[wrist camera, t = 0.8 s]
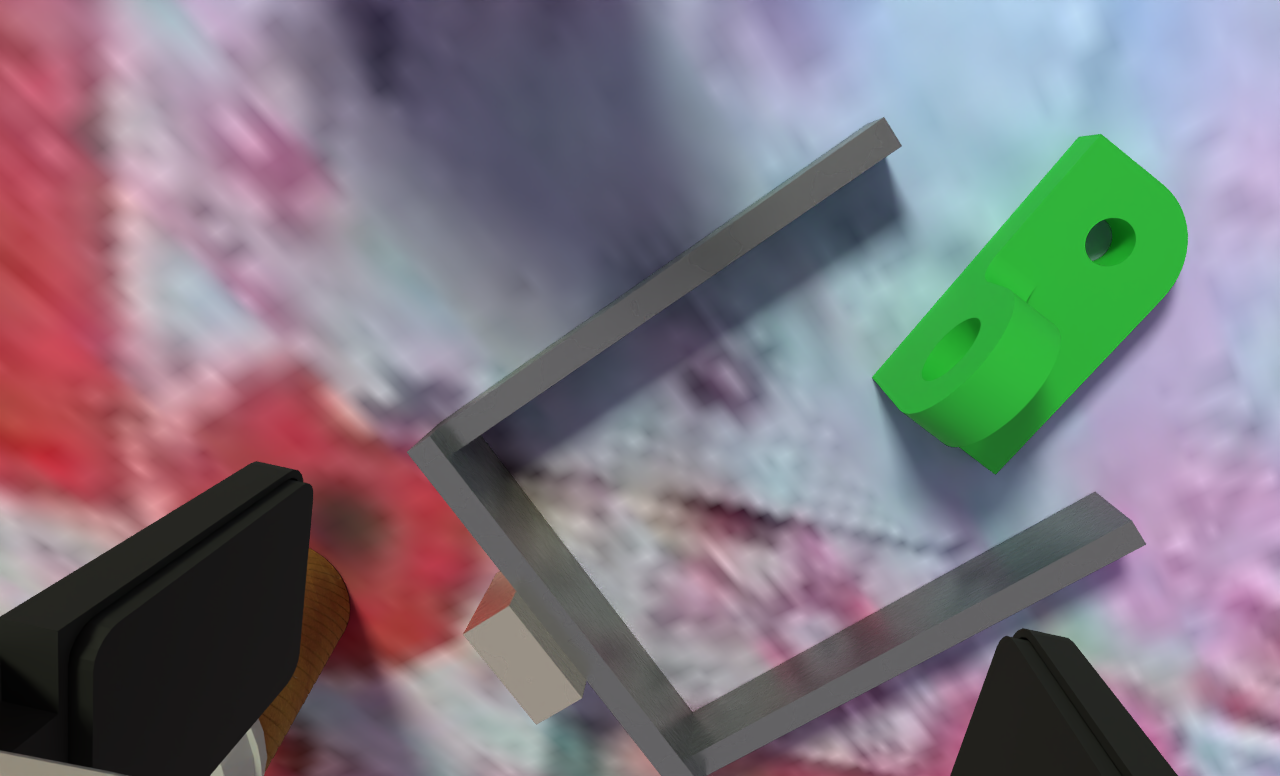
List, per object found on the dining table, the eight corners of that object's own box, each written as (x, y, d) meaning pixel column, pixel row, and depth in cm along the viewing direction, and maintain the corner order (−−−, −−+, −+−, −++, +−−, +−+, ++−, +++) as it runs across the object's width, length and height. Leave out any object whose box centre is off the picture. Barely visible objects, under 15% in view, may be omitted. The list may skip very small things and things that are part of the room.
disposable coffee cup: (210, 482, 37) (-16, 617, 26) (402, 544, 37) (263, 707, 26) (181, 650, 40) (-36, 842, 28) (361, 708, 40) (217, 924, 28)
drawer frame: (867, 123, 31) (898, 111, 26) (1108, 513, 34) (1178, 570, 29) (399, 450, 36) (349, 494, 31) (646, 763, 39) (636, 849, 34)
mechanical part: (979, 458, 34) (1058, 538, 26) (870, 376, 33) (919, 433, 26) (1191, 231, 31) (1352, 246, 23) (1076, 137, 30) (1201, 120, 23)
